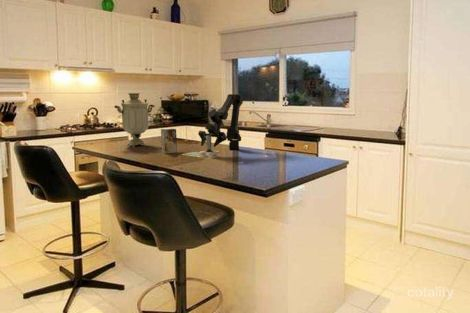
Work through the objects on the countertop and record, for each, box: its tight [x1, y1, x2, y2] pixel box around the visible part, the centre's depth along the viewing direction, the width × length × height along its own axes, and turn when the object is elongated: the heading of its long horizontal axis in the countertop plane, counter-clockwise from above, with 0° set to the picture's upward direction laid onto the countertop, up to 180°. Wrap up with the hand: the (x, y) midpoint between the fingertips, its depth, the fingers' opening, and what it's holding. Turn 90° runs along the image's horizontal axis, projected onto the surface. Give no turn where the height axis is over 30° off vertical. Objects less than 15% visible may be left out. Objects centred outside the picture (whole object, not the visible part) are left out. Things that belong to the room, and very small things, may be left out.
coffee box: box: [160, 128, 178, 154], centre depth 273 cm, size 9×6×16 cm
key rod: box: [205, 135, 213, 152], centre depth 251 cm, size 3×3×13 cm
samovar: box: [113, 92, 156, 148], centre depth 307 cm, size 30×26×40 cm
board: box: [181, 149, 222, 159], centre depth 256 cm, size 26×12×4 cm, turn 51°
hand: (207, 146), depth 250 cm, fingers open, 9 cm apart
